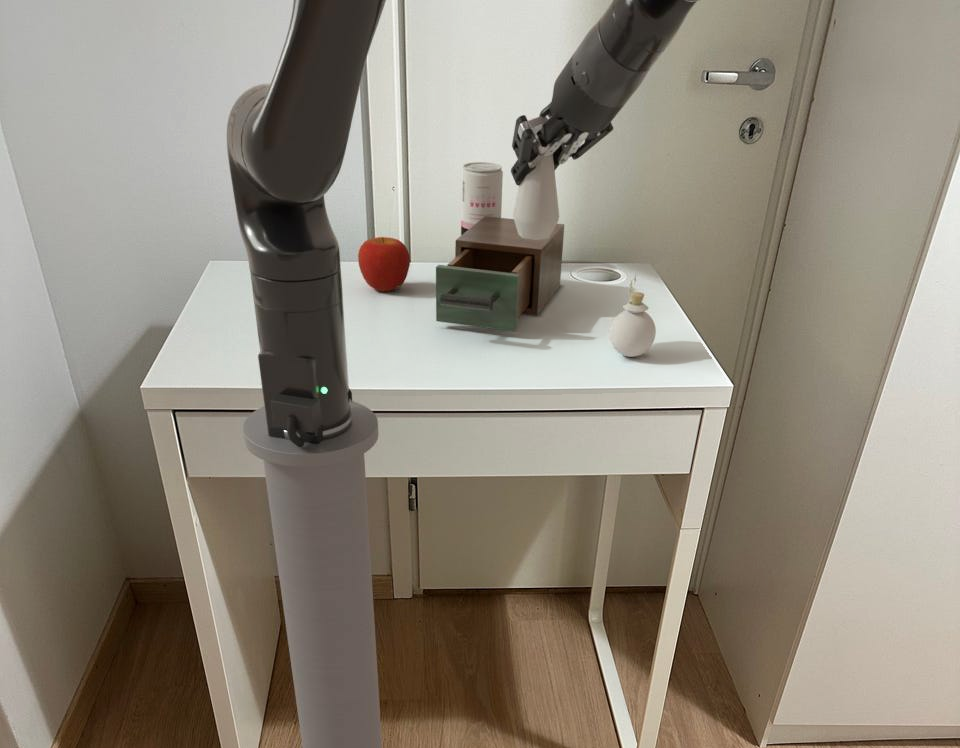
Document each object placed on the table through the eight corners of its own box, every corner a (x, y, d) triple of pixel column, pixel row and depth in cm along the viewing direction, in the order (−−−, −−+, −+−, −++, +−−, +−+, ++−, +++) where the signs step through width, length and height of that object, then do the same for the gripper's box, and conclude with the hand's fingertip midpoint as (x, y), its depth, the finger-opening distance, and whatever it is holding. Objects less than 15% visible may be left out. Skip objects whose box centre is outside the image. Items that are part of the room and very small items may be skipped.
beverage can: (462, 257, 156) (463, 161, 147) (500, 259, 156) (504, 162, 147) (458, 269, 151) (459, 169, 142) (498, 271, 151) (501, 171, 142)
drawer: (505, 343, 122) (507, 287, 118) (424, 332, 125) (423, 277, 120) (539, 301, 136) (542, 249, 132) (465, 292, 139) (466, 241, 134)
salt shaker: (566, 238, 115) (575, 121, 107) (528, 243, 113) (535, 124, 105) (541, 228, 119) (548, 114, 111) (503, 232, 117) (508, 116, 109)
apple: (412, 296, 140) (410, 242, 135) (360, 297, 139) (357, 243, 134) (408, 280, 146) (407, 229, 141) (359, 281, 145) (356, 229, 140)
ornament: (612, 364, 120) (621, 286, 114) (601, 343, 126) (609, 268, 120) (657, 363, 120) (668, 285, 114) (643, 343, 126) (654, 268, 120)
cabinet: (537, 315, 134) (541, 249, 128) (454, 305, 137) (455, 239, 131) (559, 286, 145) (564, 224, 140) (483, 277, 148) (484, 216, 142)
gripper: (637, 40, 101) (559, 145, 117) (538, 44, 95) (469, 154, 110) (663, 101, 101) (582, 198, 116) (567, 109, 95) (493, 211, 110)
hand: (527, 176), depth 113 cm, fingers closed on salt shaker, 3 cm apart
